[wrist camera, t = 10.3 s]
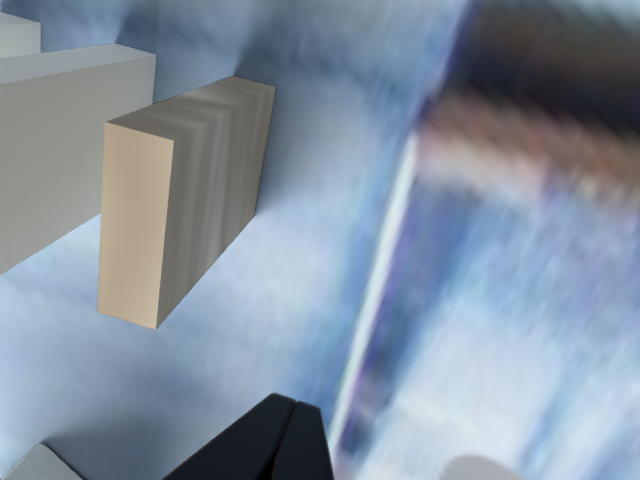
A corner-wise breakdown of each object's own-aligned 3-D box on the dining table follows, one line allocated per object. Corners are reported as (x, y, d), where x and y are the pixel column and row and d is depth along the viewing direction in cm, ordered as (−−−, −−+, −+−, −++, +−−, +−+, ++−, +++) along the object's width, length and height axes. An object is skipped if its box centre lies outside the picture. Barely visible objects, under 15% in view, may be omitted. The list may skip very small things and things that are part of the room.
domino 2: (276, 87, 19) (174, 140, 12) (253, 217, 21) (155, 330, 14) (232, 75, 19) (104, 121, 12) (214, 205, 21) (97, 311, 14)
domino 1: (156, 54, 19) (-13, 86, 12) (145, 185, 21) (-6, 278, 14) (114, 43, 19) (-78, 68, 12) (107, 173, 22) (-60, 260, 14)
